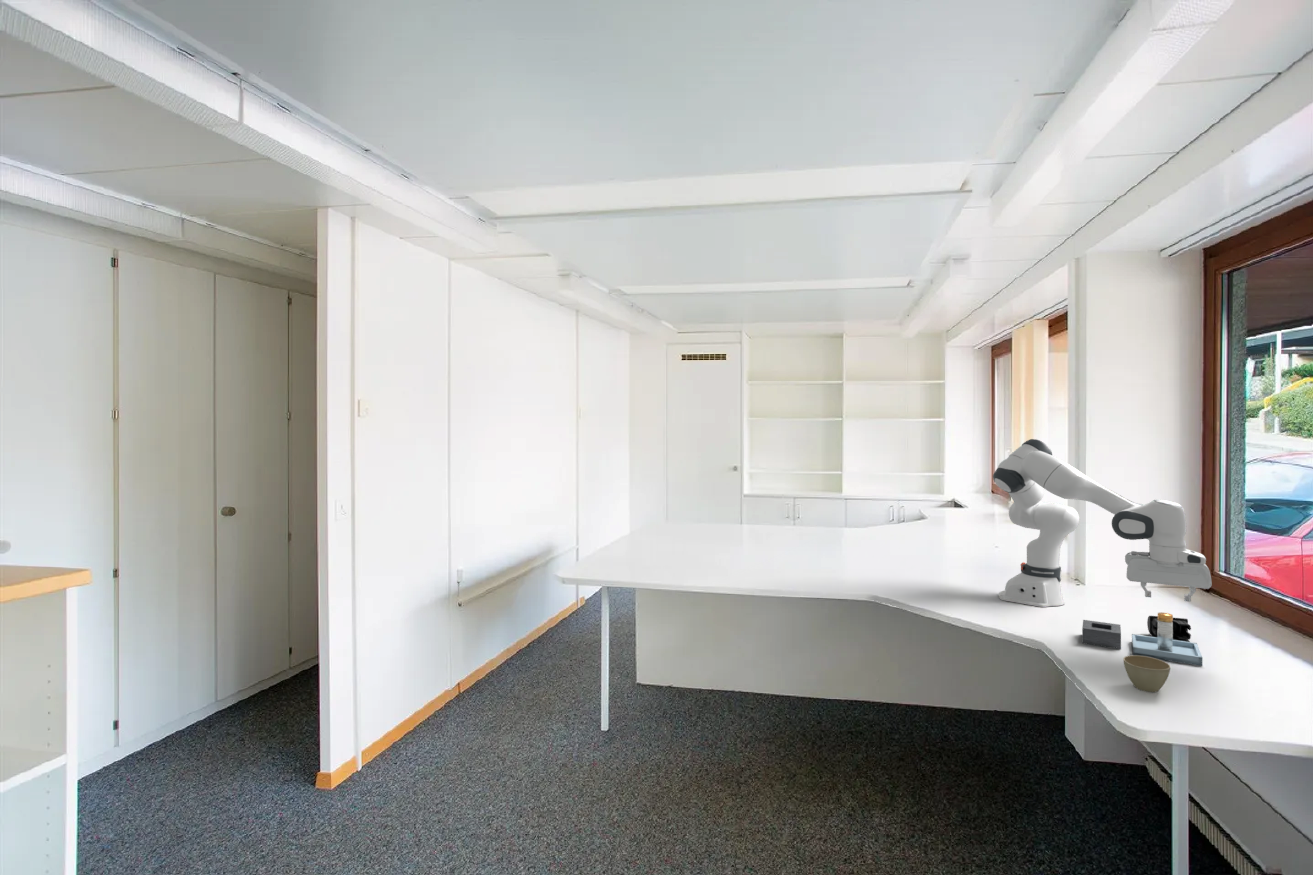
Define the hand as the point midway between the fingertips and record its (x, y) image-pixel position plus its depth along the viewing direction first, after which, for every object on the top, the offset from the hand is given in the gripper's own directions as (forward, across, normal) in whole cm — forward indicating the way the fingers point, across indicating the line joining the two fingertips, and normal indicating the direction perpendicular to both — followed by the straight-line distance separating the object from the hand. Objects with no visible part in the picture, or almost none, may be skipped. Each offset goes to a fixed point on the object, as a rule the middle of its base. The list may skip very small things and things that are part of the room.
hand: (1167, 598), depth 195 cm
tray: (+17, -1, -1) cm, 17 cm away
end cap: (+17, +2, +16) cm, 24 cm away
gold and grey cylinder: (+16, -1, -1) cm, 16 cm away
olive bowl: (+16, -7, -35) cm, 39 cm away
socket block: (+17, -17, +2) cm, 24 cm away
